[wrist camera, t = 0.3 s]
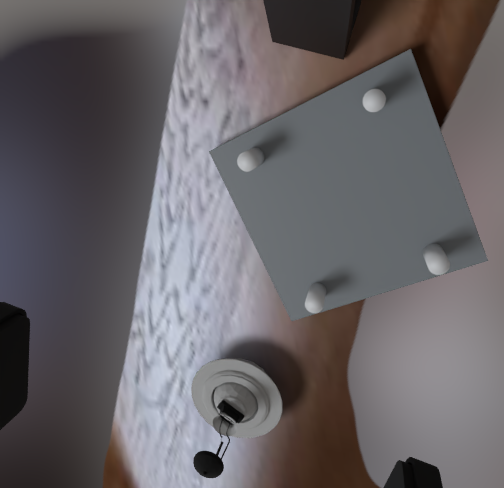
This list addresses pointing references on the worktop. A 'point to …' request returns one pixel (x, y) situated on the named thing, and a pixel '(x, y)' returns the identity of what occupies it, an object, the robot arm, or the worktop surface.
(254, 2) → the worktop surface
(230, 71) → the worktop surface
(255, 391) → the grey spinning top
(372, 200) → the base plate
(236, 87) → the worktop surface
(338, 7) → the phone stand
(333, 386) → the worktop surface
